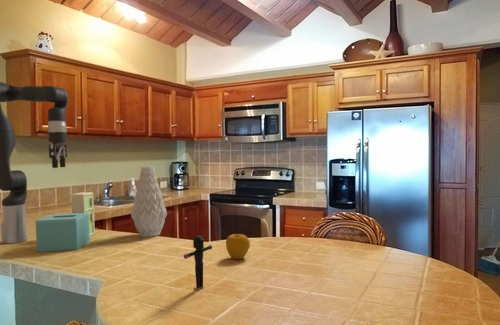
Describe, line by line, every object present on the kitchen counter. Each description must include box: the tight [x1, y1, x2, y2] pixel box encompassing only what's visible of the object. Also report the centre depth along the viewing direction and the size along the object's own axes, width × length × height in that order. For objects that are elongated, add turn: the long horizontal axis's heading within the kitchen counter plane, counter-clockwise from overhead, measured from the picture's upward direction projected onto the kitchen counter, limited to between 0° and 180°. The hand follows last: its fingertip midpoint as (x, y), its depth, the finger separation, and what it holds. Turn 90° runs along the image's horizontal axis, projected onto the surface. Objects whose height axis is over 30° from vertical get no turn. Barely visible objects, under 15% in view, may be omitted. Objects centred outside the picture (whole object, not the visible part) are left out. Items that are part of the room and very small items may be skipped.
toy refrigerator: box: [71, 191, 96, 237], centre depth 184 cm, size 8×7×21 cm
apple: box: [225, 233, 251, 260], centre depth 137 cm, size 8×8×9 cm
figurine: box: [183, 235, 213, 291], centre depth 107 cm, size 12×4×15 cm, turn 149°
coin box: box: [35, 212, 91, 253], centre depth 164 cm, size 16×16×13 cm
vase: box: [130, 166, 168, 238], centre depth 181 cm, size 17×17×33 cm
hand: (59, 167), depth 171 cm, fingers open, 8 cm apart
